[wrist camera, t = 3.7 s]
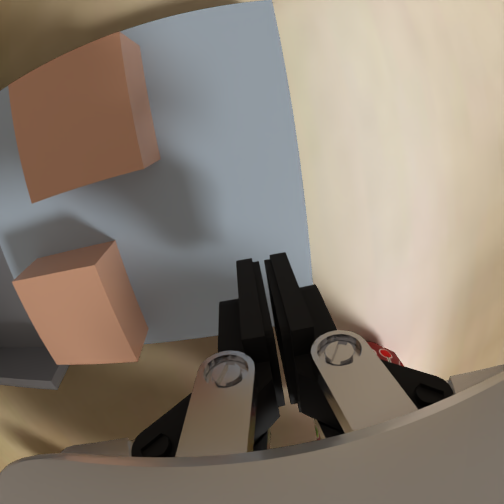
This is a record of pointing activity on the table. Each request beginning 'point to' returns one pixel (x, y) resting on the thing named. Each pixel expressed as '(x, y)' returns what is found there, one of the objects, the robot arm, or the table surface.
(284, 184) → the board
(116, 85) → the tile front
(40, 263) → the tile rear
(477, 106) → the table surface
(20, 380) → the tray
